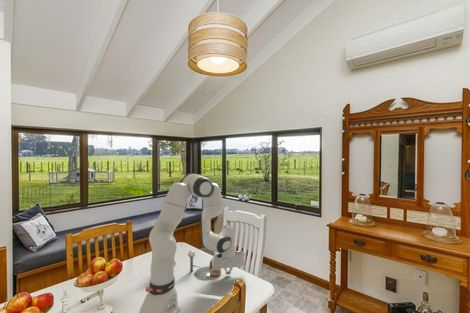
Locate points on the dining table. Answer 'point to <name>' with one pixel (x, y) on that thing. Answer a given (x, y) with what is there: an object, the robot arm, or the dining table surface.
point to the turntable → (204, 273)
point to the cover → (215, 272)
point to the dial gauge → (191, 260)
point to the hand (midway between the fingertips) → (228, 274)
